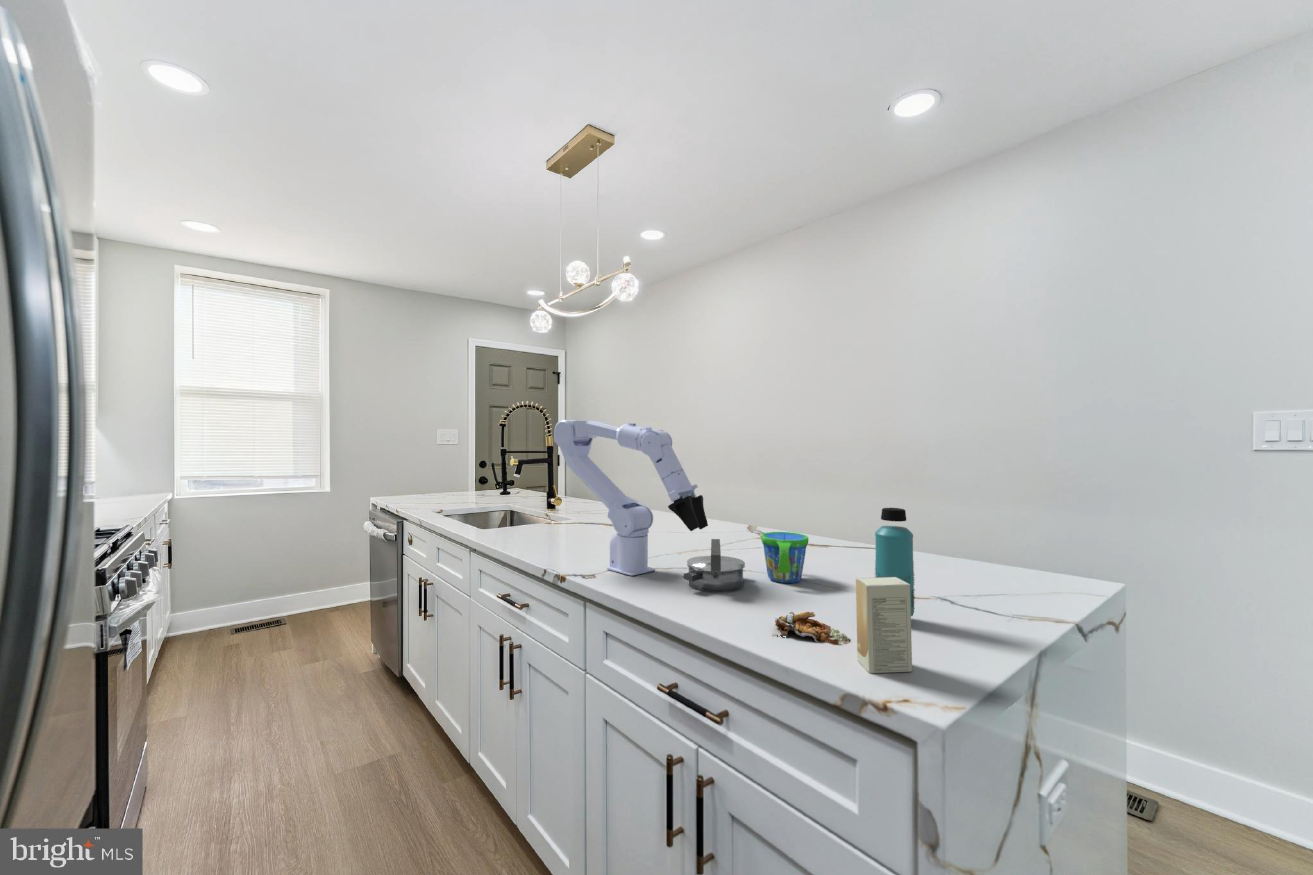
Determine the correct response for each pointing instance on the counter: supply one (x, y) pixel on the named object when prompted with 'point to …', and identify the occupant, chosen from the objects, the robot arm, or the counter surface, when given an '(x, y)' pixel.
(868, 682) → the counter surface
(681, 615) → the counter surface
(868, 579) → the skincare box
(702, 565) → the lid
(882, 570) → the beverage bottle
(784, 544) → the snack cup
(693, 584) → the pot
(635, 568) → the robot arm
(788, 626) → the brown lumpy piece
